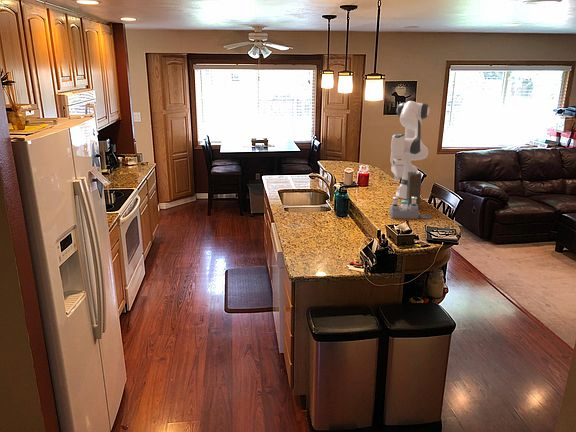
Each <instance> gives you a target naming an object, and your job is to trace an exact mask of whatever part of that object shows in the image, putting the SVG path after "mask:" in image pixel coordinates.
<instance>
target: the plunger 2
mask: <svg viewBox="0 0 576 432" xmlns="http://www.w3.org/2000/svg"><path fill="white" fill-rule="evenodd" d="M411 199H412V204H411V206H416V199H417V197H415V196H413V197H411Z"/></svg>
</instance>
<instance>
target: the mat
mask: <svg viewBox="0 0 576 432" xmlns="http://www.w3.org/2000/svg"><path fill="white" fill-rule="evenodd" d="M418 219H420V220H433V219H434V217H433V216H432V215H430V214H419V218H418Z"/></svg>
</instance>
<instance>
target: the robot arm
mask: <svg viewBox="0 0 576 432" xmlns="http://www.w3.org/2000/svg"><path fill="white" fill-rule="evenodd" d="M429 114H430V105H429V104H428V103H425V102H416V101H413V100H409V101H406V102H401V103H399V104H398V105H397V107H396V115H397V116H398V118H399V123H400V124H401V126H402V127H403V128H404V129H405V130H404V133H395V134H393V135H391V136H392V137H391V142H390V161H389V163H391V167H390V168H391V169H390V171H391V172H392V173H393V176H394V181H395V182H396V183H397V182H399V179H400V178H401V181H400V185H399V186H397V187H396V192H395V197H398V199H399V198H400V199H403V200H406V198H407V182H408V175H409V174H408V172H409V171H410V172H413V173H414V171H415V172H416V173H419V171H418V167H417V166H416V165H414V164H412V161H421V160H425V159H427V158H428V155H429V149H428V147H427V146H426V145H424V143H423V141H422V124H423V123H422V122H423V121H422V120H424V119H426V118H428V116H429ZM420 198H422V195H421V194H420Z"/></svg>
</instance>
